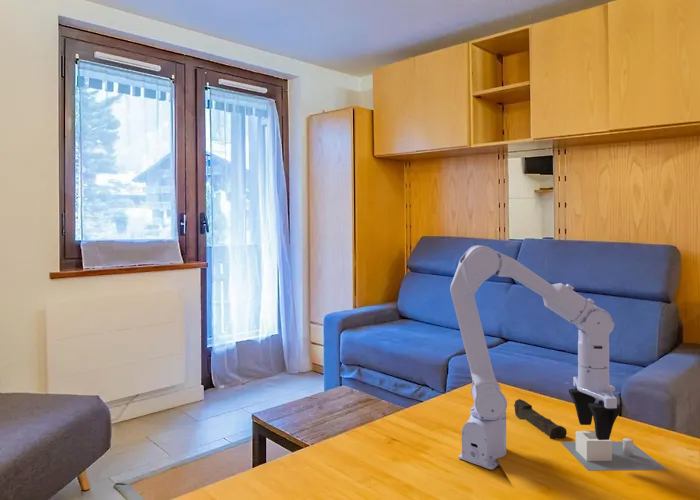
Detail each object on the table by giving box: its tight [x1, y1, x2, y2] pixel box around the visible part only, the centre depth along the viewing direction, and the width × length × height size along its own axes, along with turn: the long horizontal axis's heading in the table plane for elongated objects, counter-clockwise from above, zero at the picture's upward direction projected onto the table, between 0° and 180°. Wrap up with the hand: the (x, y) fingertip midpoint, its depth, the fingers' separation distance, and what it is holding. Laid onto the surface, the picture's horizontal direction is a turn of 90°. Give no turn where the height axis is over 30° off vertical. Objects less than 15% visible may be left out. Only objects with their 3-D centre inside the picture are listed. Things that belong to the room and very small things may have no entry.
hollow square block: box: [575, 430, 613, 461], centre depth 103 cm, size 5×5×4 cm
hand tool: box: [513, 398, 568, 440], centre depth 121 cm, size 19×4×5 cm, turn 9°
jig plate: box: [560, 437, 668, 472], centre depth 103 cm, size 15×13×4 cm
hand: (593, 431), depth 103 cm, fingers open, 7 cm apart
